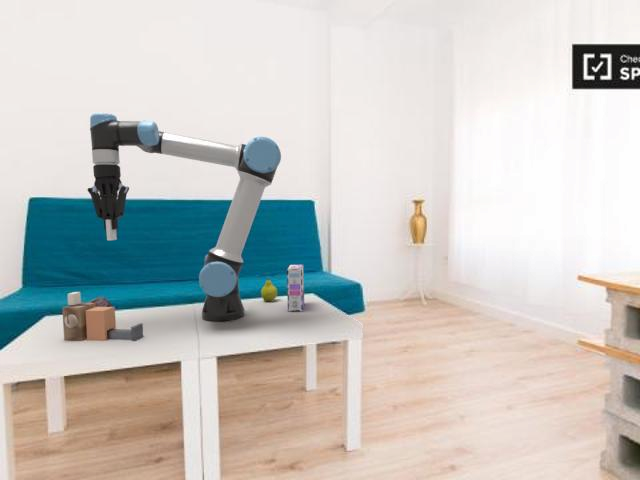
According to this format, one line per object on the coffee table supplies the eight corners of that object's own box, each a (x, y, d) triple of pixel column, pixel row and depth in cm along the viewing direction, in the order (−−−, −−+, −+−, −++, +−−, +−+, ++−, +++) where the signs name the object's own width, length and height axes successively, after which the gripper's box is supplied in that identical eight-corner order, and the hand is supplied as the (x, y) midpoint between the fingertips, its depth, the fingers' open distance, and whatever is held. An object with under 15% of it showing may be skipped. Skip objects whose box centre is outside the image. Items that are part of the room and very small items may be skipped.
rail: (143, 336, 128) (142, 323, 128) (134, 340, 124) (134, 327, 123) (92, 334, 131) (91, 322, 130) (82, 339, 126) (81, 326, 126)
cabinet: (97, 333, 132) (96, 302, 131) (80, 341, 124) (78, 307, 123) (80, 333, 133) (79, 301, 132) (62, 340, 125) (60, 307, 124)
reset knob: (81, 303, 130) (80, 292, 129) (74, 305, 127) (73, 294, 127) (75, 303, 130) (74, 292, 130) (68, 305, 127) (67, 293, 127)
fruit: (279, 299, 179) (278, 271, 179) (275, 302, 173) (275, 274, 172) (263, 299, 180) (262, 272, 179) (259, 302, 173) (258, 274, 172)
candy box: (303, 311, 156) (302, 268, 155) (287, 312, 156) (286, 268, 155) (304, 303, 170) (303, 263, 169) (290, 304, 170) (289, 264, 169)
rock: (77, 332, 139) (109, 329, 141) (73, 308, 137) (106, 305, 139) (88, 318, 150) (118, 315, 152) (85, 296, 148) (115, 293, 150)
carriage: (116, 335, 130) (114, 306, 129) (105, 340, 125) (103, 310, 124) (98, 334, 131) (97, 306, 130) (87, 339, 126) (85, 310, 125)
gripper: (132, 165, 132) (137, 238, 134) (95, 167, 134) (101, 239, 136) (118, 162, 125) (123, 240, 127) (79, 164, 127) (85, 241, 128)
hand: (112, 240), depth 131 cm, fingers closed
